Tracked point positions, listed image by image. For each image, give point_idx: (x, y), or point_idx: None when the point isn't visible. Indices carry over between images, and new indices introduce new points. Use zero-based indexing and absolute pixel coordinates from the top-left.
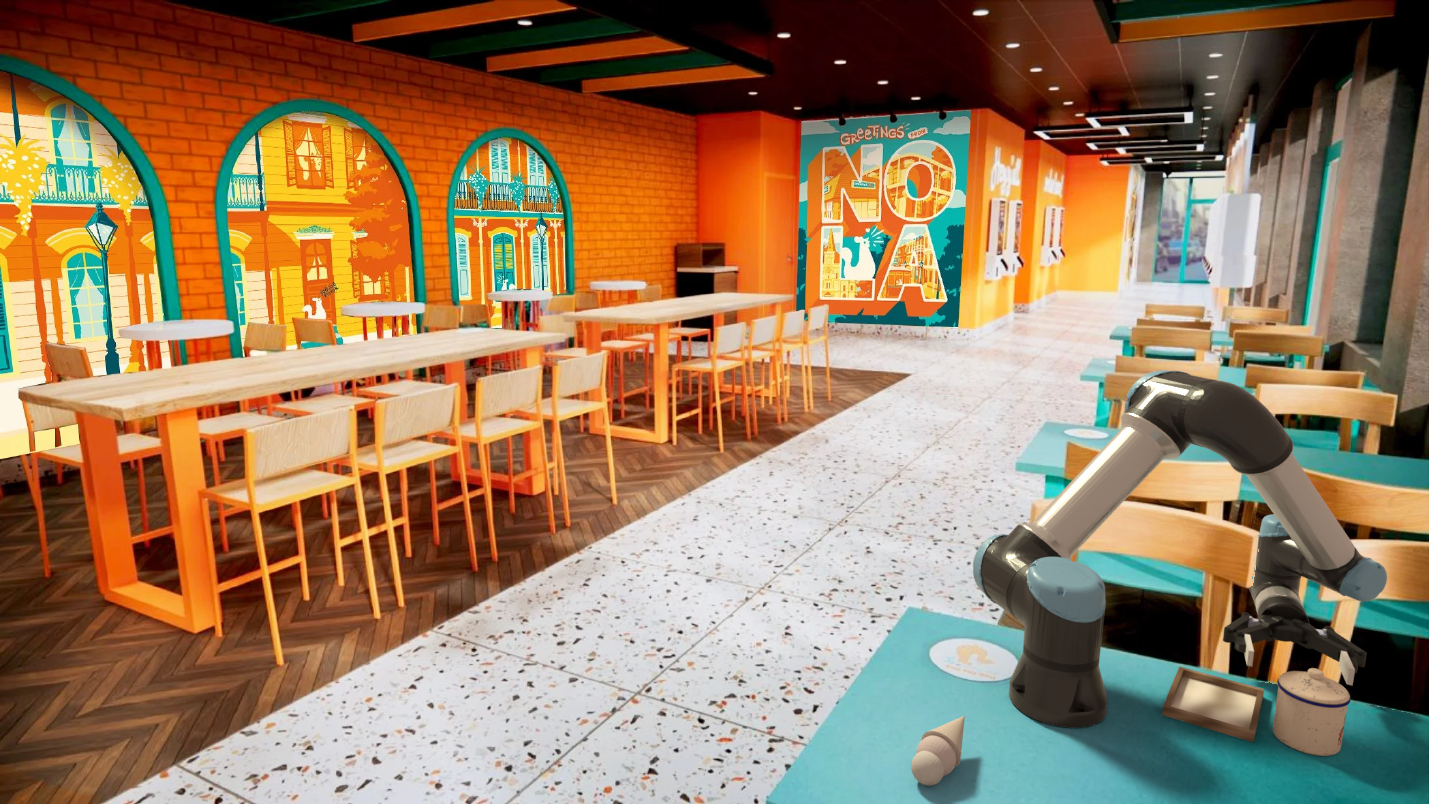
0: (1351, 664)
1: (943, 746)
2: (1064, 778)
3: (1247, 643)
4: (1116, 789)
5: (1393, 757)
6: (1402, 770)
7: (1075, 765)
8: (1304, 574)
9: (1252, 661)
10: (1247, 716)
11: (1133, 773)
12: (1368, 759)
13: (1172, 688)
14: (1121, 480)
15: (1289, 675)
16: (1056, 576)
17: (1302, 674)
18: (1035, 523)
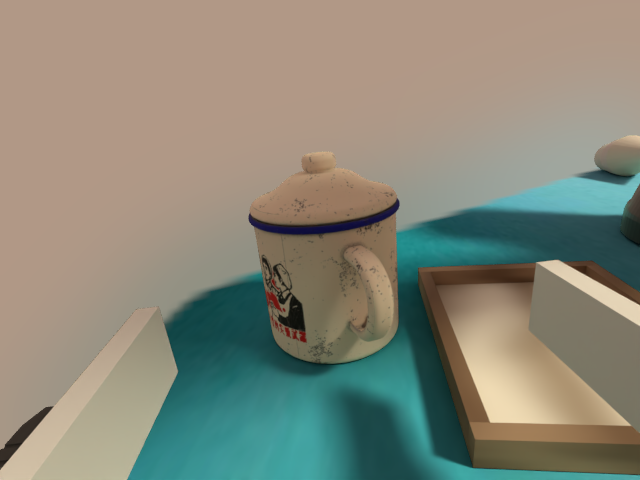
0: (113, 342)
1: (613, 141)
2: (544, 194)
3: (624, 297)
4: (499, 200)
5: (175, 348)
6: (184, 322)
7: (555, 201)
8: None
9: (532, 310)
10: (458, 332)
11: (504, 211)
12: (232, 324)
13: None
14: None
15: (374, 185)
16: None
17: (346, 170)
18: None
